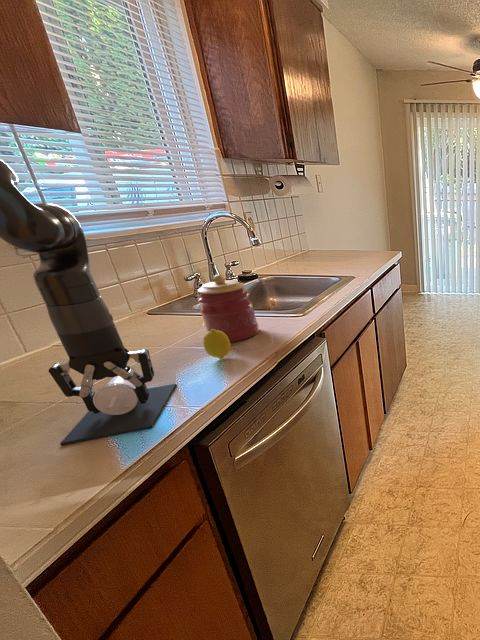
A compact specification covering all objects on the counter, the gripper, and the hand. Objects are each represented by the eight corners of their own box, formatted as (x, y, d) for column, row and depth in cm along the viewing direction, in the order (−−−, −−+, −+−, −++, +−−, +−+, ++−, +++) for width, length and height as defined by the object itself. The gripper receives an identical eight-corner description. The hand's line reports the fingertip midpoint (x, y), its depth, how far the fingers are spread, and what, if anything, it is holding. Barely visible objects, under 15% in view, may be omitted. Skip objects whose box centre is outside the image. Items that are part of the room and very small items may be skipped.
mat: (61, 445, 68) (59, 443, 68) (103, 397, 83) (102, 395, 83) (152, 428, 73) (151, 425, 73) (176, 385, 88) (176, 383, 88)
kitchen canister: (198, 342, 112) (177, 279, 104) (232, 326, 123) (215, 269, 116) (238, 344, 110) (220, 281, 102) (269, 328, 121) (255, 270, 114)
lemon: (223, 364, 98) (214, 333, 95) (203, 362, 99) (193, 332, 96) (239, 355, 103) (230, 325, 100) (220, 353, 104) (211, 325, 101)
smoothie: (143, 364, 83) (129, 393, 72) (148, 392, 85) (136, 423, 74) (102, 366, 80) (81, 397, 69) (109, 395, 82) (89, 429, 71)
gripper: (19, 339, 64) (66, 426, 71) (132, 324, 70) (164, 405, 77) (38, 326, 70) (79, 407, 77) (140, 312, 76) (169, 389, 83)
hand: (121, 406), depth 77 cm, fingers closed on smoothie, 6 cm apart
